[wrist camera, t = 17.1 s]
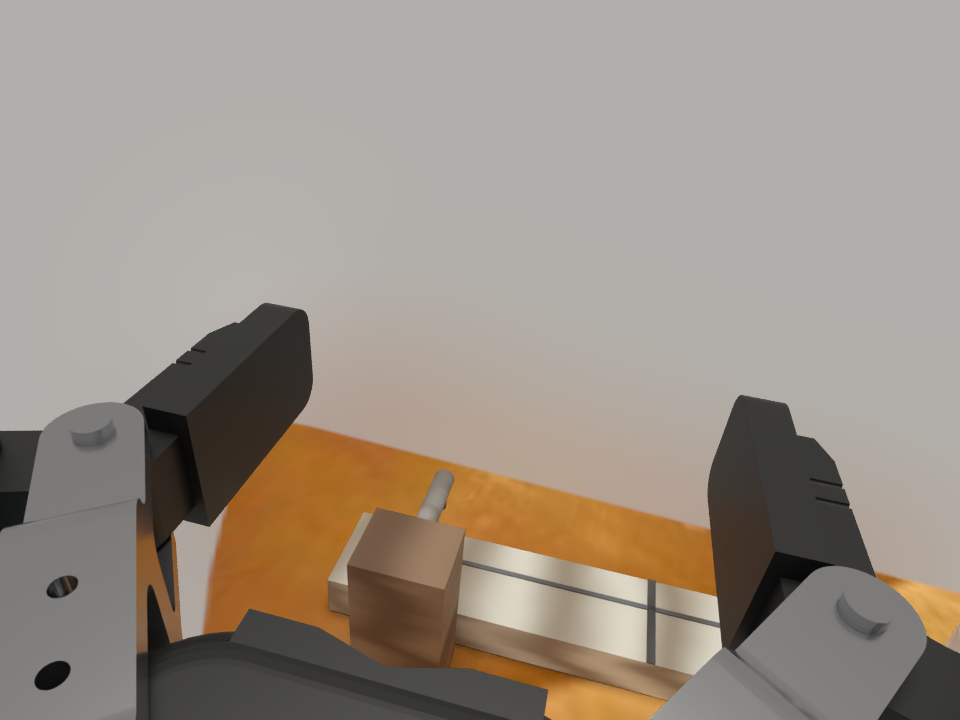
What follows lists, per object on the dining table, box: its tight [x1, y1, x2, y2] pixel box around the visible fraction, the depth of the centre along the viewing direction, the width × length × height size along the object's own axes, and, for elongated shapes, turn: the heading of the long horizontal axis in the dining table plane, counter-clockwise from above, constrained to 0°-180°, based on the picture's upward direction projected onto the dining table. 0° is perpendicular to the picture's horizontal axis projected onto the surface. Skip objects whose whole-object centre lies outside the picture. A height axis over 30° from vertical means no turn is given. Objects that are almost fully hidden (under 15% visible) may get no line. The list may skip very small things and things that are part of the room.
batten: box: [328, 512, 722, 700], centre depth 41 cm, size 30×6×3 cm, turn 77°
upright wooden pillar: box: [347, 470, 465, 668], centre depth 38 cm, size 5×9×11 cm, turn 167°
